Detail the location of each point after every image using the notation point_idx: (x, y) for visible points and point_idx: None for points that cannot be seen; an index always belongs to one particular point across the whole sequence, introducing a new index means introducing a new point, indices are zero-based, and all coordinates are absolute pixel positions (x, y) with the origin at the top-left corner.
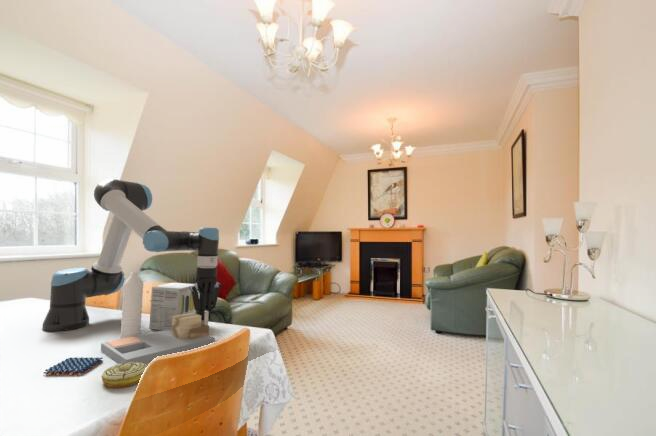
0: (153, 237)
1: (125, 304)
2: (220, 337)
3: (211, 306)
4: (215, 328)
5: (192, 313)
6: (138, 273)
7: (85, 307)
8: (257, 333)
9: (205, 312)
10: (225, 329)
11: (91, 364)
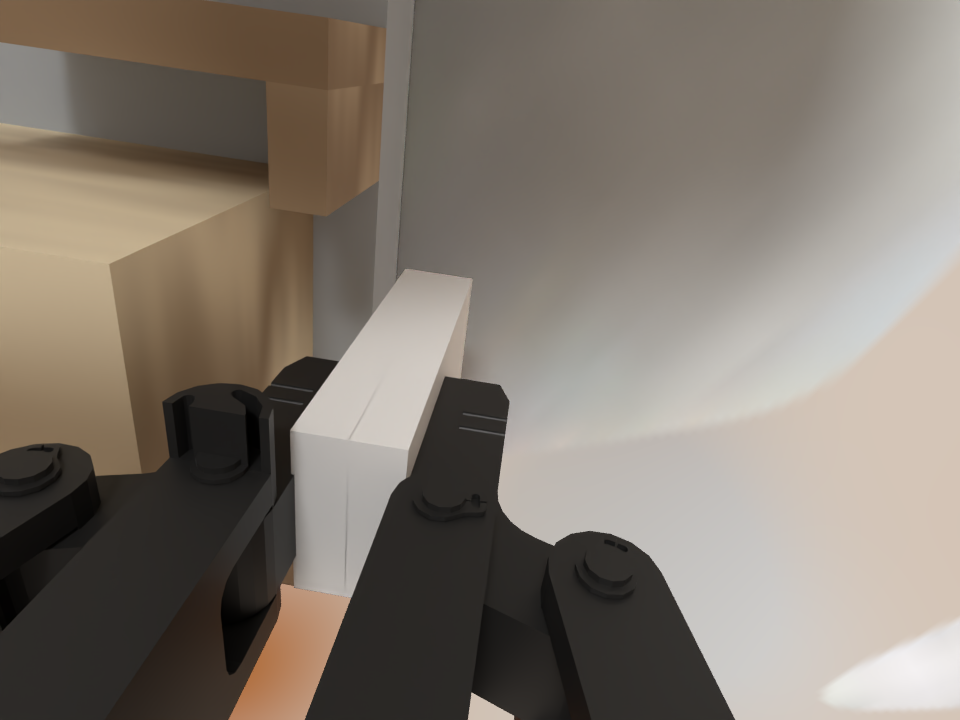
0: None
1: None
2: (587, 434)
3: (500, 700)
4: (945, 19)
5: (63, 322)
6: None
7: None
8: (932, 644)
9: (311, 578)
10: (951, 223)
11: None
